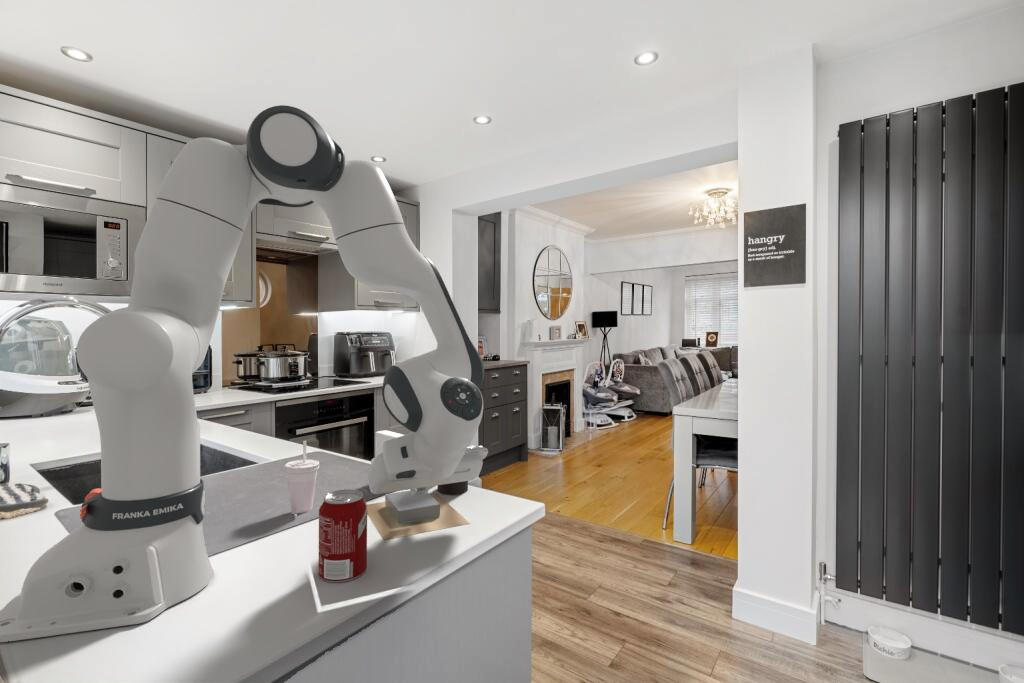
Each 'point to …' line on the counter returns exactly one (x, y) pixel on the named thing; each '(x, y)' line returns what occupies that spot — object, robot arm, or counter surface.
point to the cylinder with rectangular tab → (383, 440)
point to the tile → (411, 506)
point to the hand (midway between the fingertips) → (418, 491)
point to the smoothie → (301, 482)
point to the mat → (394, 530)
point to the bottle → (453, 488)
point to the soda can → (342, 536)
